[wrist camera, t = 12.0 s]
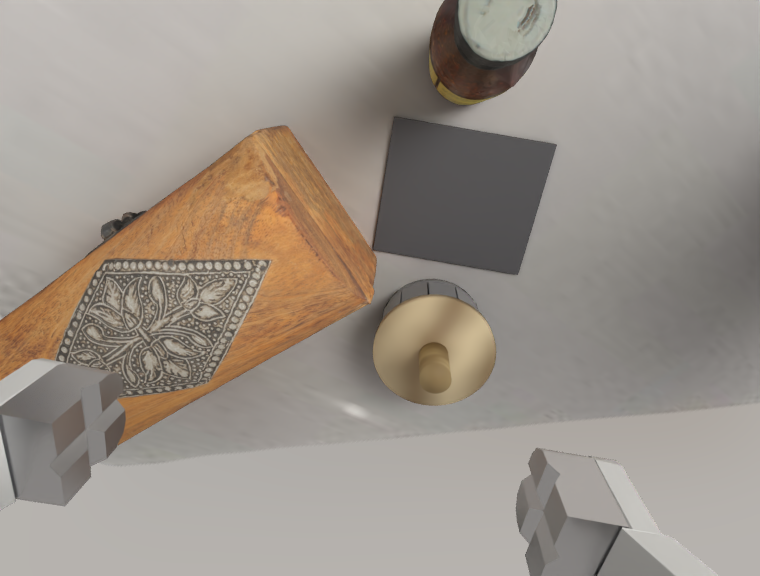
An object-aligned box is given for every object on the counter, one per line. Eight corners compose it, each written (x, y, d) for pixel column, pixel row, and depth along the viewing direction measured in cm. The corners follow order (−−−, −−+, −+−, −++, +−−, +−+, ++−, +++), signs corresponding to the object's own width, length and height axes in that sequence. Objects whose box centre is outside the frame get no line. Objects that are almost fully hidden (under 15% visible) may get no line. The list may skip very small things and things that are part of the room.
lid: (508, 306, 39) (520, 333, 34) (477, 408, 43) (485, 444, 38) (383, 284, 39) (379, 308, 34) (365, 388, 43) (359, 422, 38)
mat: (555, 144, 38) (556, 144, 38) (517, 273, 43) (518, 274, 42) (394, 116, 38) (394, 116, 38) (373, 248, 43) (373, 249, 43)
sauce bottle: (519, 74, 36) (624, 43, 18) (452, 120, 38) (487, 134, 20) (478, -3, 35) (549, -124, 16) (411, 49, 36) (406, -8, 18)
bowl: (491, 288, 44) (500, 310, 39) (467, 373, 47) (473, 403, 43) (390, 271, 44) (387, 290, 39) (375, 357, 48) (370, 384, 43)
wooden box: (284, 111, 39) (220, 113, 26) (384, 263, 44) (371, 329, 31) (60, 275, 47) (-73, 339, 34) (165, 390, 52) (83, 484, 39)
